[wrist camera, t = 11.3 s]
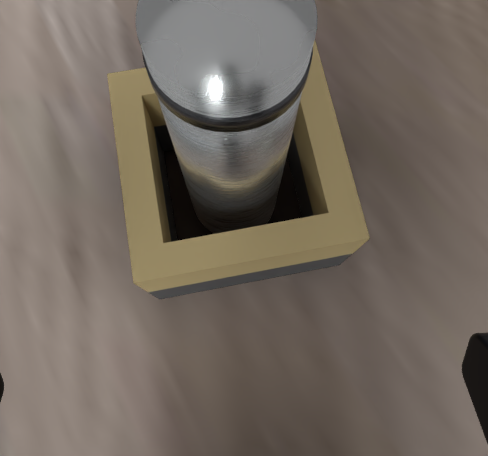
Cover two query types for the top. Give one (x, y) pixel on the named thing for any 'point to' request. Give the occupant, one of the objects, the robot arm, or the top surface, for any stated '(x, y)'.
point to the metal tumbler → (229, 96)
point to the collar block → (242, 240)
